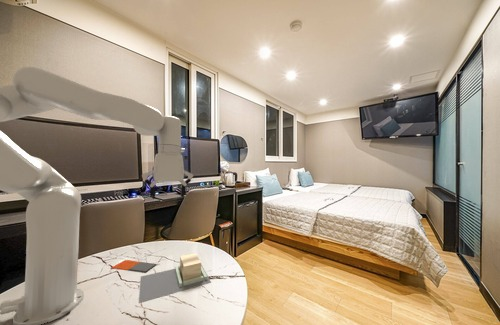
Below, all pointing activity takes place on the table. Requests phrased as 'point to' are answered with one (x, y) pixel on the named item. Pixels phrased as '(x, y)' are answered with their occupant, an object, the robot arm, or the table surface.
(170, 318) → the table surface
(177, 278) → the mat
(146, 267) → the phone
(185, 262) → the card box
